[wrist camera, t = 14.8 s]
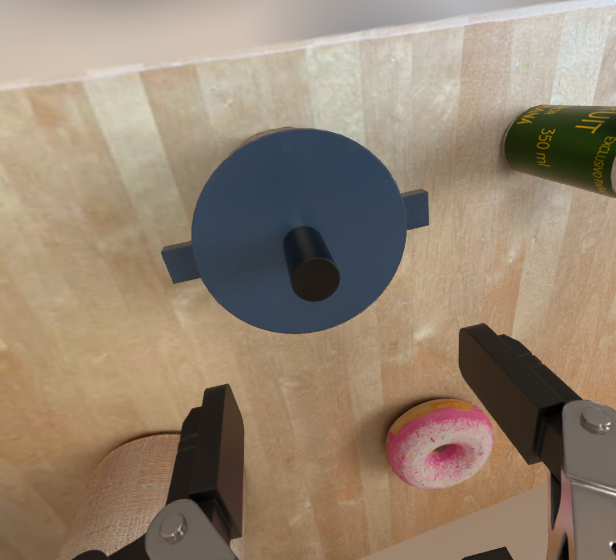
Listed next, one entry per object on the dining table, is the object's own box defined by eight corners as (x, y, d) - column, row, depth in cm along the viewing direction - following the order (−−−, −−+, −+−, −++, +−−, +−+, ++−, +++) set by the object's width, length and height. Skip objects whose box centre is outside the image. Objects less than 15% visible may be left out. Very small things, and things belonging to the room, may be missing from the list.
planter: (69, 443, 39) (-31, 631, 25) (231, 413, 41) (221, 577, 27) (123, 532, 47) (70, 711, 34) (256, 505, 49) (259, 666, 35)
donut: (477, 448, 50) (499, 482, 46) (386, 472, 50) (399, 509, 45) (480, 378, 44) (506, 409, 39) (375, 405, 43) (389, 440, 39)
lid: (159, 154, 20) (127, 175, 15) (393, 104, 21) (443, 107, 15) (229, 344, 27) (223, 405, 21) (406, 301, 27) (444, 351, 22)
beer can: (558, 156, 32) (709, 184, 22) (502, 180, 32) (623, 220, 22) (556, 93, 30) (725, 91, 19) (495, 120, 30) (628, 133, 19)
